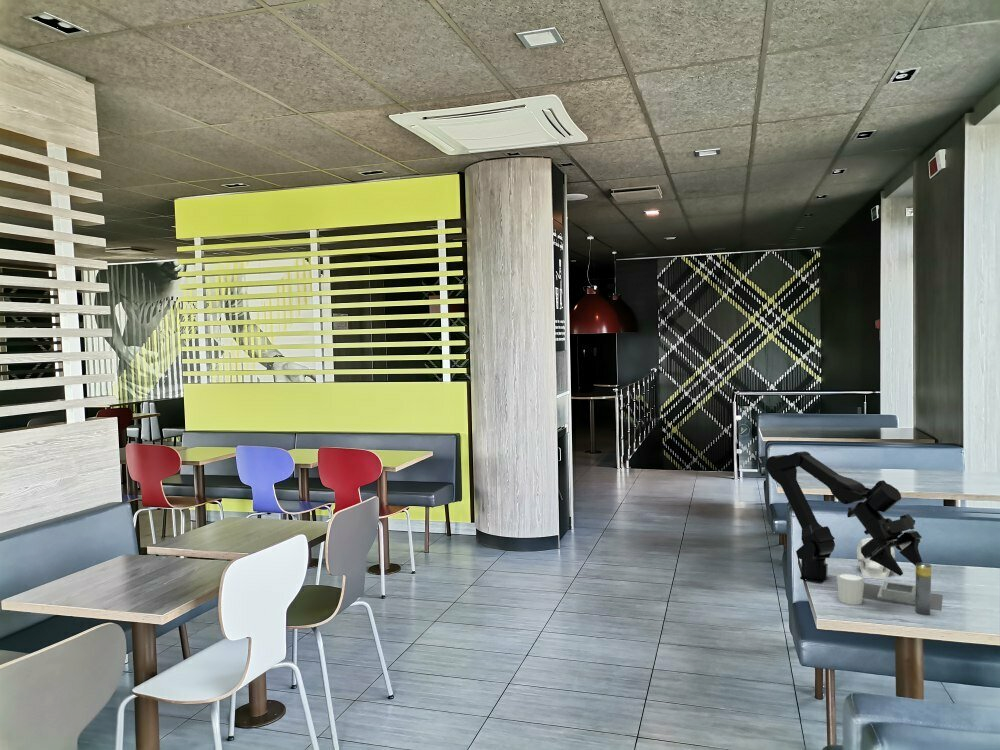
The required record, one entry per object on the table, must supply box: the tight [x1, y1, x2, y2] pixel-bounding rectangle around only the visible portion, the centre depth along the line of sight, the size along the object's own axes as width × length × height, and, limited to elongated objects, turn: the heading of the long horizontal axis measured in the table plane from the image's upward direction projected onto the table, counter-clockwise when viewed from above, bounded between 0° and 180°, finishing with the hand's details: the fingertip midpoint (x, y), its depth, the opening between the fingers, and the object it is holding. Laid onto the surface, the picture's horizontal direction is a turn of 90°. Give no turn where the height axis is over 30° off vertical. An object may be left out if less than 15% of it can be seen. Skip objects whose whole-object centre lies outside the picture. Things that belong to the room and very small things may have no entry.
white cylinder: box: [836, 573, 865, 606], centre depth 197 cm, size 7×7×7 cm
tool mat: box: [863, 582, 944, 612], centre depth 201 cm, size 22×14×1 cm, turn 57°
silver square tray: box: [877, 581, 916, 605], centre depth 200 cm, size 10×10×3 cm
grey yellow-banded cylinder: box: [914, 562, 932, 616], centre depth 188 cm, size 4×4×13 cm
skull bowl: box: [856, 537, 896, 580], centre depth 222 cm, size 10×14×12 cm
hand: (912, 572), depth 190 cm, fingers open, 9 cm apart
